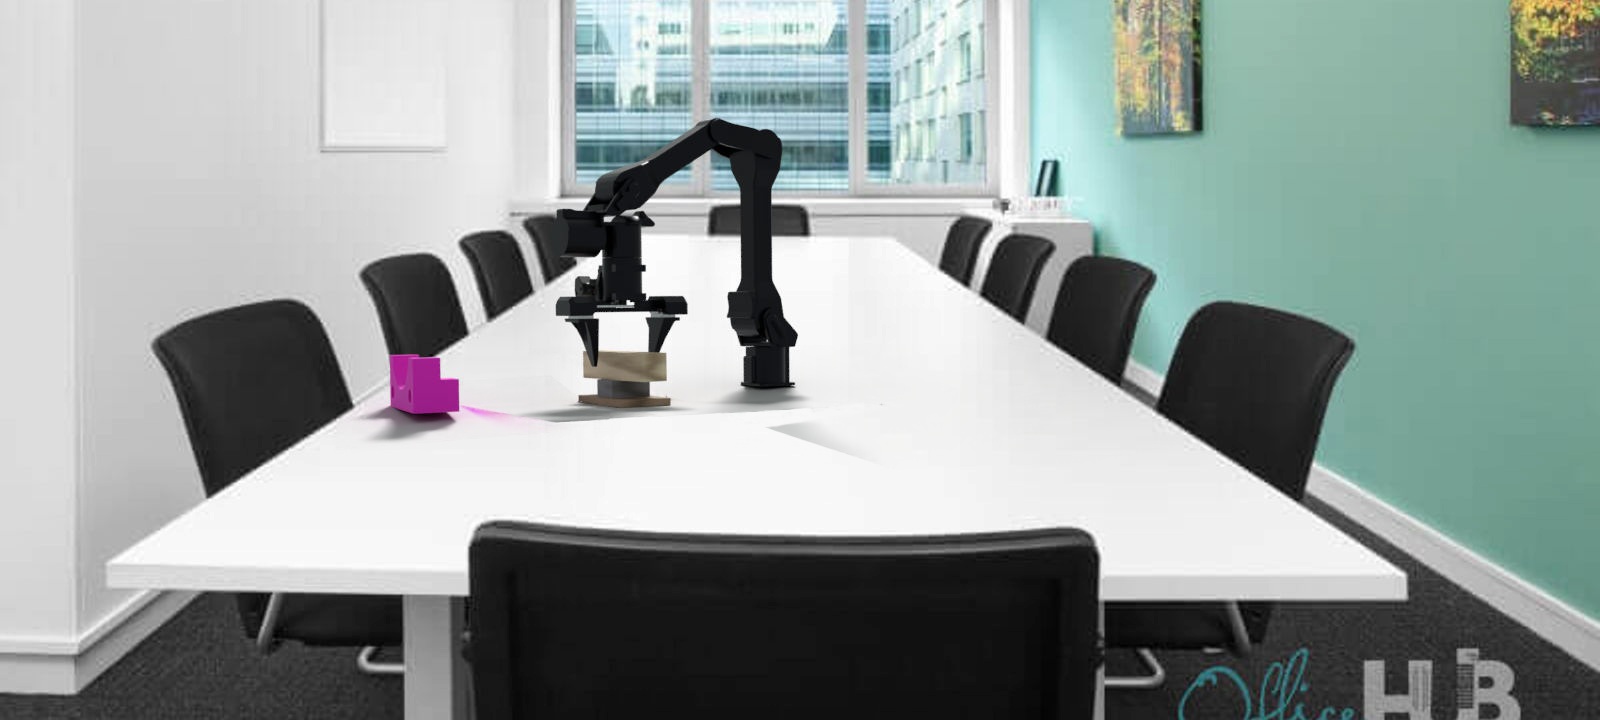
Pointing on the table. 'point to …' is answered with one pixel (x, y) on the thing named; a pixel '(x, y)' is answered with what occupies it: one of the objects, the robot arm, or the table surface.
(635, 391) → the fulcrum stand
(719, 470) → the table surface
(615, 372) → the beam
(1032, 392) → the table surface
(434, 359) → the toy block
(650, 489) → the table surface
